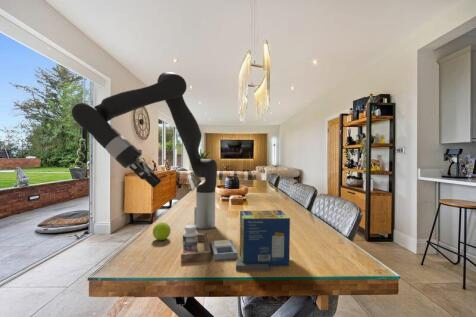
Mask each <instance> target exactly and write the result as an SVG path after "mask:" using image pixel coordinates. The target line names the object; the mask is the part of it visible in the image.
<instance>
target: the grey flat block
mask: <svg viewBox="0 0 476 317" xmlns="http://www.w3.org/2000/svg"><path fill="white" fill-rule="evenodd" d="M235 263H236V264H235V271H248V272H249V271H250V272H251V271H252V272H255V271H256V272H270V266H269V264H247V263H242V262H241V258H236V262H235Z"/></svg>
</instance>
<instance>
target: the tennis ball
mask: <svg viewBox="0 0 476 317" xmlns="http://www.w3.org/2000/svg"><path fill="white" fill-rule="evenodd" d="M171 231H172V230H171V227H170V225H169V224H168V223H166V222H159V223H158V222H157V223H156V224H155V225H154V227H153V229H152V235H153V238H154V239H155V240H157V241H163V240H164V241H165V240H167V238H168V237H169V236H170V235H171ZM168 239H169V238H168Z"/></svg>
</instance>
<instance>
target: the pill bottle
mask: <svg viewBox="0 0 476 317" xmlns="http://www.w3.org/2000/svg"><path fill="white" fill-rule="evenodd" d="M198 234H199V233H198V231H197V227H196V225H194V224H188V225H185V226H184V232H183V234H182V250H183V253H190V252H198V248H199V246H198V245H199V244H198V242H199V241H198Z"/></svg>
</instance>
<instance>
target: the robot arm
mask: <svg viewBox="0 0 476 317" xmlns="http://www.w3.org/2000/svg"><path fill="white" fill-rule="evenodd" d="M156 81H157V82H155V83H154V84H151V85H148V86H144V87H141V88H137V89H135V88H134V89H131V90H126V91H123V92H118V93H116V94H114V95H110V96H108V97H105V98H103V99H102V100H101V102H100V103H99V104H97V105H95V106H93V105H91V104H89V103H85V102H80V103H76V104H75V105H74V106H73V107H72V108H71V116H72V119H73V120H74V121H75V122H76V124H77V125H79V126H80V127H82V128H83V129H84V130H86V131H87V133H89V134H90V135H91V136H92V137H93V138H94V139H95V140H96V142H97V143H98V144H99V145H100V146H101V147H102V148H104V149H105V150H106V151H107V153H108V154H109V155H110V156H111V158H113V159H114V160H115V161H116V162H117V163H118V164H119V165H121V167H123V168H124V169H127V168H129V169H130V170H131V171H133V173H134V174H136V175H137V177H139V179H140V180H143V181H145V182H147V183H148V184H149V185H150V187H152V188H156V187H157V186H158V185H159V184H160V183H161V182H162V179H161V178H160V177H159V176H157V175H156V173H155V170H153V169H152V168H151V167H150V166H149V165H148V164H147V163H146V162H145V161H144V160H142V161H141V159H140V158H141V156H142V152H141V151H140V150H139V149H138V148H137V147H136V146H135V145H134V144H133V143H132V142H130V141H129V139H127V138H126V137H125V136H123V134H121V133H120V132H119V131H118V130H117V129H116V128H115V127H114V126H112V125H111V124H110V123H109V122H110V121H111V120H112V119H114V118H118V117H119V116H123V115H125V114H128V113H130V112H133V111H135V110H138V109H141V108H144V107H147V106H149V105H152V104H155V103H160V102H165V103H166V105H167V107H168V109H169V111H170V114H171V117H172V120H173V122H174V125H175V127H176V131H177V132H178V135H179V137H180V139H181V142H182V144H183V146H184V149H185V151H186V153H187V156H188V159H189V163H190V166H191V169H192V172H193V174H194V176H195V177H197V178H203V179H204V178H205V181H204V182H203V183H201V184H198V185H197V186H196V189H195V193H196V195H195V199H196V201H195V202H196V203H195V207H194V209H193V210H194V211H193V212H194V213H193V214H194V217H193V218H194V219H193V220H194V221H193V222H194V223H193V225H196V229H201V230H209V229H213V228H215V227H216V186H217V177H218V165H217V164H218V163H217V161H216V160H215V159H213V158H202V157H201V154H200V152H199V149H200V145H201V141H202V132H201V129H200V126H199V124H198V121H197V119H196V118H195V116H194V114H193V113H192V112H191V109H190V108H189V107H188V105H187V104H186V101H185V99H184V96H183V95H184V94H185V93H186V91H187V86H188V85H187V82H186V80H185V79H184V77H183V76H181V75H180V74H178V73H175V72H172V71H171V72H169V71H166V72H162V73H161V74H159V76H158V78H157V80H156Z"/></svg>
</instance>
